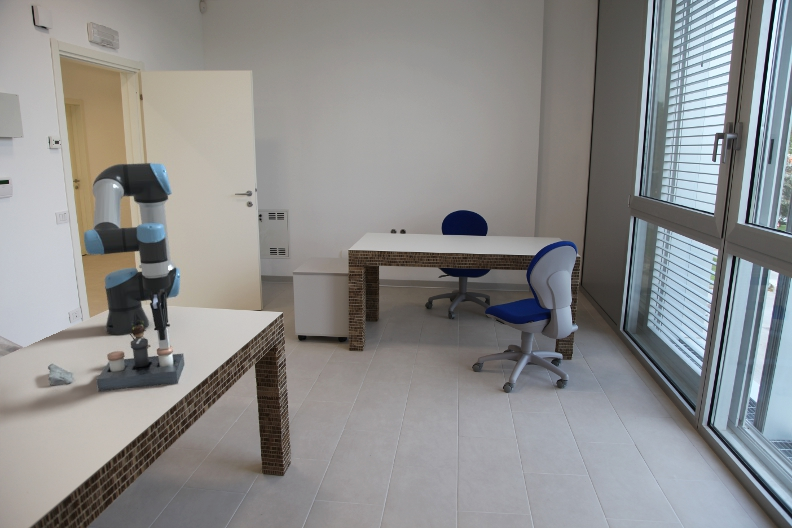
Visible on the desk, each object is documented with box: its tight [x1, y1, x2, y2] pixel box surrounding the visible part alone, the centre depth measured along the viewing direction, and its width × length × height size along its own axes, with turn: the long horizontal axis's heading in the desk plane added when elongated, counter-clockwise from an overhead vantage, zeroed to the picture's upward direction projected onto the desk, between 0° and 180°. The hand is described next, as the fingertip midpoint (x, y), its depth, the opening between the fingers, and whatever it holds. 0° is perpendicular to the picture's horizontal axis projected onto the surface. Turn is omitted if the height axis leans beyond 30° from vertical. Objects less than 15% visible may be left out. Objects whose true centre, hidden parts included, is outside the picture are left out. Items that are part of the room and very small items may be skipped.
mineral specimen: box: [47, 363, 74, 386], centre depth 163 cm, size 6×12×4 cm, turn 33°
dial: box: [129, 337, 149, 367], centre depth 162 cm, size 5×5×8 cm
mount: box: [96, 353, 185, 393], centre depth 163 cm, size 14×22×4 cm, turn 104°
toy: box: [129, 321, 151, 350], centre depth 174 cm, size 6×6×15 cm
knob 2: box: [156, 345, 174, 367], centre depth 164 cm, size 5×5×8 cm
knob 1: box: [106, 350, 125, 372], centre depth 161 cm, size 5×5×8 cm
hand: (164, 348), depth 163 cm, fingers closed
